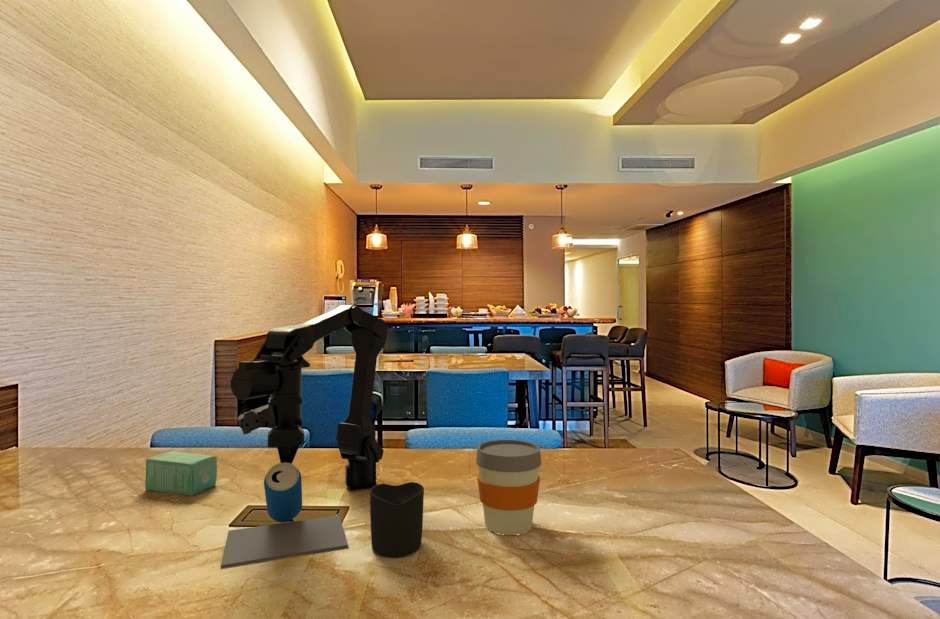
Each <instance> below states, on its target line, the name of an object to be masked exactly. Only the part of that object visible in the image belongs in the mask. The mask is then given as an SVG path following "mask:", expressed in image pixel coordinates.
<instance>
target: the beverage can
mask: <svg viewBox="0 0 940 619" xmlns="http://www.w3.org/2000/svg"><path fill="white" fill-rule="evenodd" d="M263 486H264V495H265V501H266V502H265V503H266V511H267V514H268V516H269V518H271V520H273V521H275V522H278V523H287V522H291V521H292V520H293V519H294V518H296V517H298V515H299V514H300V512H301V511H302V507H303V491H302V490H303V484H302V473H301V471H300V470H299V468H298V467H296V466H295V465H294V464H293V463H292V464H291V463H281V462H279V463H277V464H274V465H273V466H272V467H270V468H269V469H268V471H267V473H266V474H265V476H264V480H263Z"/></svg>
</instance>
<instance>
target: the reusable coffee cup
mask: <svg viewBox="0 0 940 619" xmlns="http://www.w3.org/2000/svg"><path fill="white" fill-rule="evenodd" d="M476 447H477V448H476V457H475V458H476V459H475V463H476V465H477V467H478V468H477V469H478V474H477V477H476V478H477V484H478V485H477V486H478V493H479V494H478V495H479V501H480V502H481V503H482V508H483V517H484V519H483V520H484V526H486V527H487V528H488V529H489V530H491V531H493V532H496V533H500V534H504V535H517V534H522V533H525V532H527V533H529V532H530V531H531V530H532V528H531V527H533V518H534V511H535V505H536V504H537V503H538V497H539V490H540V489H539V488H540V482H541V478H540V476H539V472H540V467H541V465H542V457H541V456H542V455H541V448H540V446H538V445H537V444H535V443H534V442H532V441H531V442H530V441H526V440H521V439H519V440H518V439H494V440H493V439H492V440H488V441H484V442H482V443H480V444H478V445H477V446H476ZM486 527H485V528H486ZM487 528H486V529H487ZM488 529H487V530H488ZM530 529H531V530H530ZM489 530H488V531H489ZM529 530H530V531H529ZM528 531H529V532H528ZM525 534H526V533H525ZM504 535H503V536H504ZM522 535H523V534H522ZM517 536H518V535H517Z"/></svg>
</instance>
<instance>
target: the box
mask: <svg viewBox="0 0 940 619" xmlns="http://www.w3.org/2000/svg"><path fill="white" fill-rule="evenodd" d="M145 459H146V460H145V490H146V491H153V492H159V493H160V492H161V493H168V494H169V493H170V494H175V495H183V496H189V497H190V496H191V497H192V496H193V497H194V496H195V495H198V494H200V493H202V492H204V491H206V490H208V488H209V489H210V488H213V487H215V486H216V484H217V477H218V476H217V475H218V461H217V460H218V459H217V456H216V455H210V454H203V453H202V454H200V453H194V452H193V453H192V452H183V451H175V450H170V451H167V452H163V453H161V454H157V455H154V456H151V457H147V458H145ZM201 491H202V492H201ZM199 492H200V493H199ZM197 493H198V494H197Z"/></svg>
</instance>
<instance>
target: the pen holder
mask: <svg viewBox="0 0 940 619" xmlns="http://www.w3.org/2000/svg"><path fill="white" fill-rule="evenodd" d="M424 493H425V487H424V485H422V484H420V483H419V482H414V481H410V482H405V483H403V484H399V485H396V484H395V485H393V484H387V483H379V484H378V483H377V485H375V486H373V487H372V488H369V512H370V513H369V514H370V515H369V516H370V537H371V538H370V539H371V541H370V542H371V549H372V551H373V552H374V553H375V554H376V555H378V556H380V557H384V558H389V559H397V558H398V559H399V558H405V557H409V556H410V555H413V554H415V553H416V552H418V551H419V550H420V548H421V546H422V542H423V540H422V538H423V522H424V501H425V500H424V499H425V498H424V496H425V494H424Z"/></svg>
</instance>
